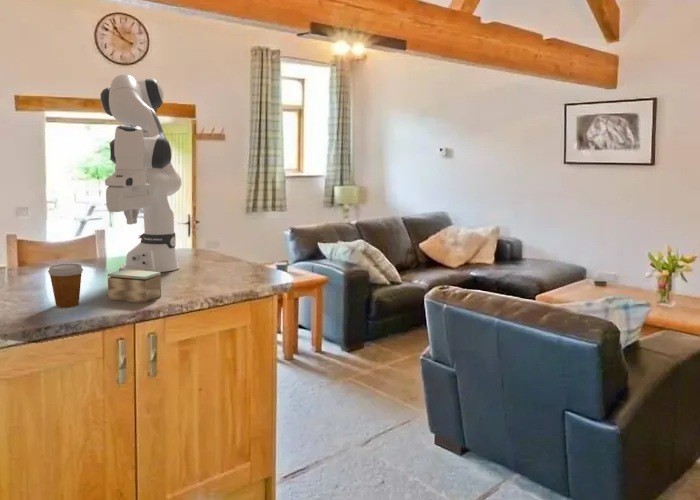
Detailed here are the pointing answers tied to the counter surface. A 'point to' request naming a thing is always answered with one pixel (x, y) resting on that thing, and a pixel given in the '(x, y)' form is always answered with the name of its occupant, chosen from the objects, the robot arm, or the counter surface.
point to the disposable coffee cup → (66, 284)
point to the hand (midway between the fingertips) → (131, 223)
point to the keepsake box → (134, 289)
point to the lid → (134, 274)
